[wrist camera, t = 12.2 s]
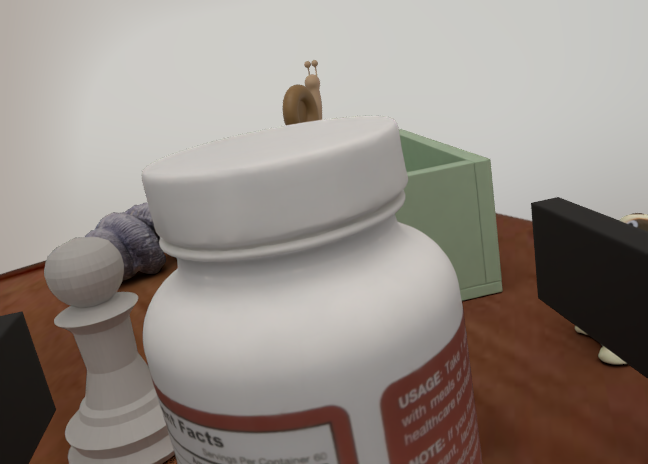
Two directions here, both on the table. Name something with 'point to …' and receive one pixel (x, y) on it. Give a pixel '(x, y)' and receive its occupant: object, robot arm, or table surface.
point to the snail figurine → (303, 100)
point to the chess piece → (106, 359)
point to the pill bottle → (304, 305)
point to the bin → (453, 209)
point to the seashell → (133, 239)
